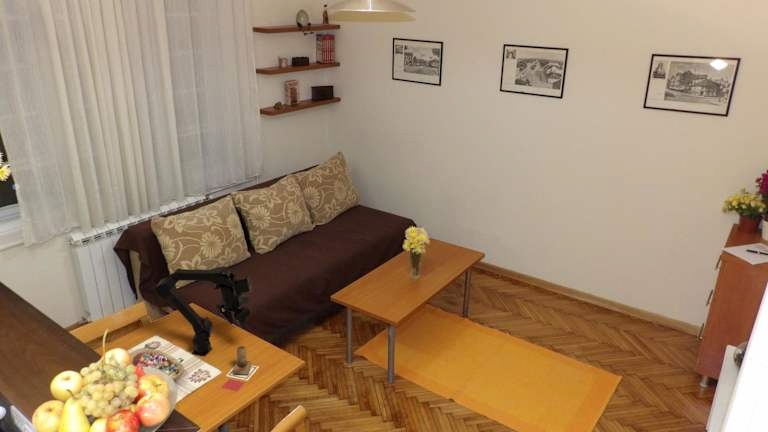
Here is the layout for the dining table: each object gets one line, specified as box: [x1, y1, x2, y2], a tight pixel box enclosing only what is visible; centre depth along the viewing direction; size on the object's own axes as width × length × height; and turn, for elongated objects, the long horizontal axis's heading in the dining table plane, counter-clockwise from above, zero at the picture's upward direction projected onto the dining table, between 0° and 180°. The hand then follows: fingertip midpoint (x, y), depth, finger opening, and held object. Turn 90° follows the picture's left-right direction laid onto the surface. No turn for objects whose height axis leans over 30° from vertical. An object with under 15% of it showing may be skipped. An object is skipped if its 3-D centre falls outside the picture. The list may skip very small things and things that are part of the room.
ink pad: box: [221, 378, 246, 392], centre depth 227 cm, size 8×7×1 cm
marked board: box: [225, 364, 259, 382], centre depth 236 cm, size 10×10×1 cm
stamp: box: [232, 345, 252, 376], centre depth 234 cm, size 6×6×11 cm
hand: (237, 326), depth 248 cm, fingers open, 9 cm apart
